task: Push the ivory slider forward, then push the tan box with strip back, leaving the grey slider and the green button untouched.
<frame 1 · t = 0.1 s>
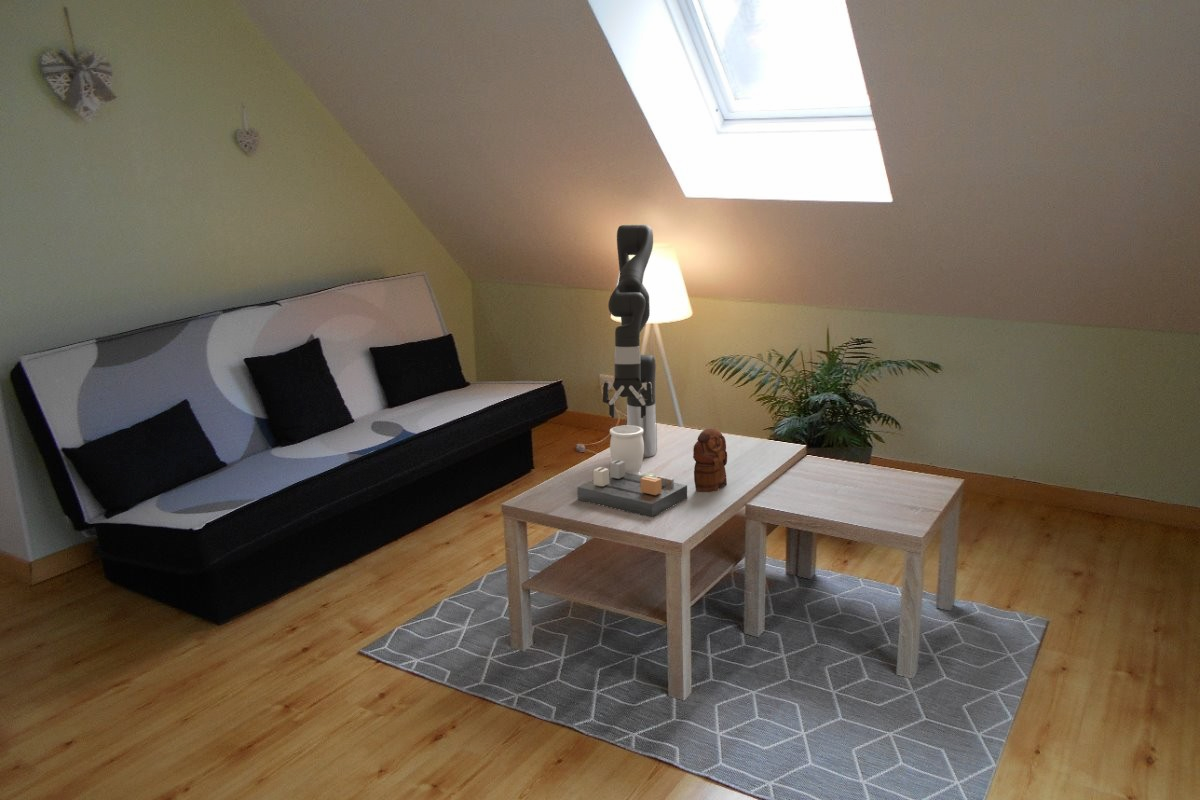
hand: (627, 417, 291), 22 cm above the table, tool pointing down, fingers open, 8 cm apart
jar: (627, 476, 310), on the table
panel: (632, 499, 290), on the table
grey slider: (617, 469, 296), point 7 cm above the table, slide at 0.0 cm
ivory slider: (601, 476, 290), point 7 cm above the table, slide at 0.0 cm
green button: (648, 478, 291), point 5 cm above the table, slide at 0.0 cm
tan box with strip: (651, 485, 282), point 6 cm above the table, slide at 0.0 cm
wooden figurine: (711, 487, 298), on the table
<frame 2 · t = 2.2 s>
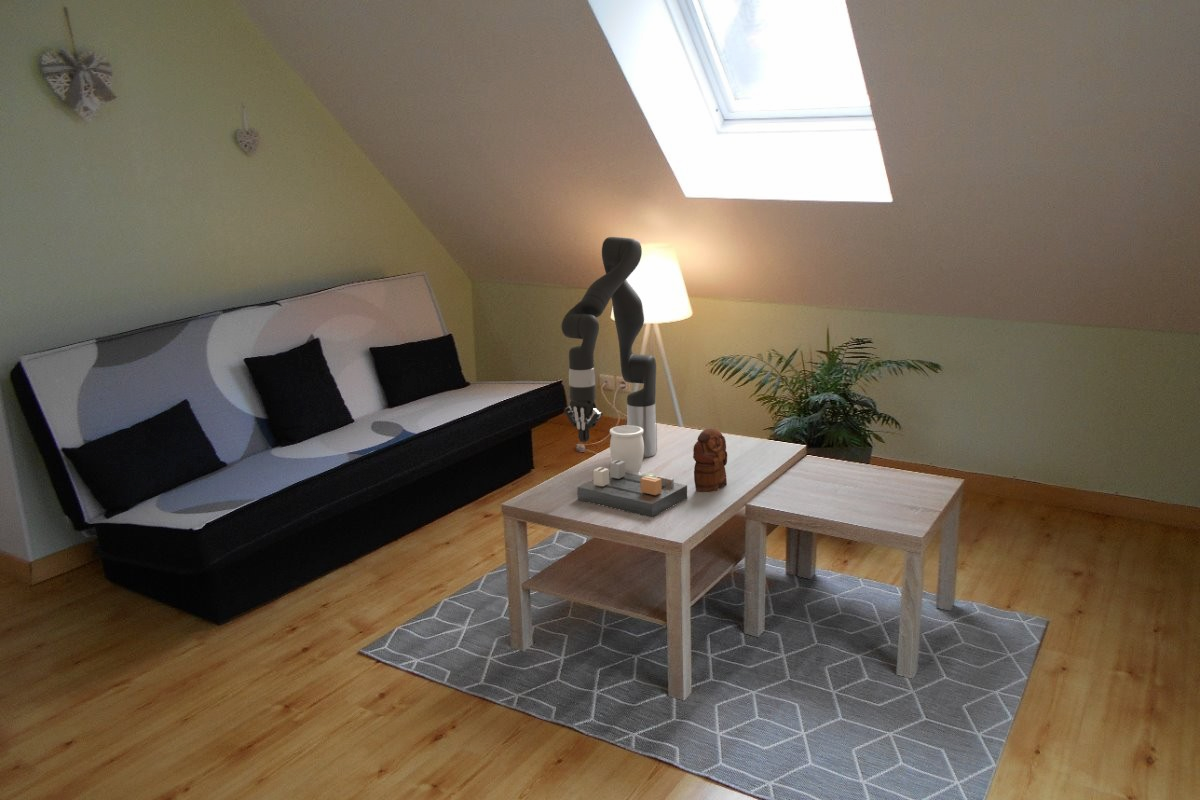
hand: (583, 441, 291), 16 cm above the table, tool pointing down, fingers closed
nothing on the table moved.
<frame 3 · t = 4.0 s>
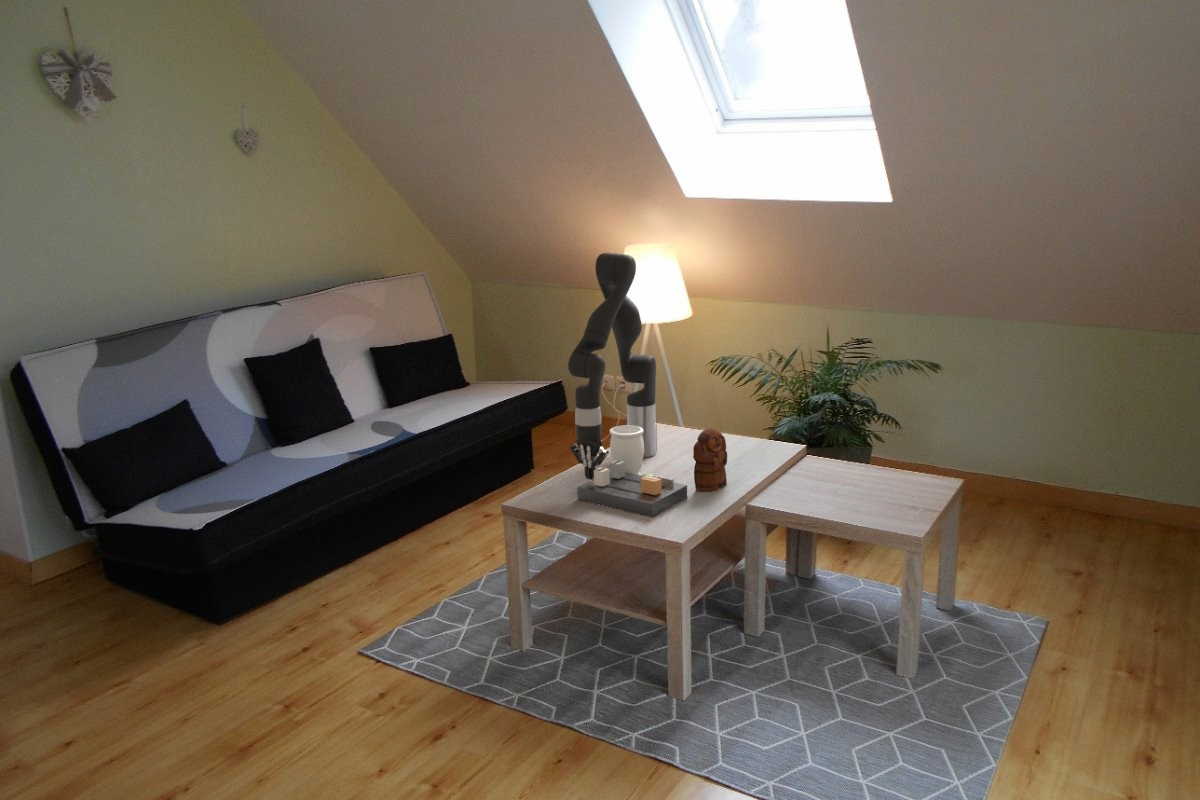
hand: (590, 478, 293), 5 cm above the table, tool pointing down, fingers closed
ivory slider: (601, 476, 290), point 7 cm above the table, slide at 0.2 cm, touching gripper
everything else where it was.
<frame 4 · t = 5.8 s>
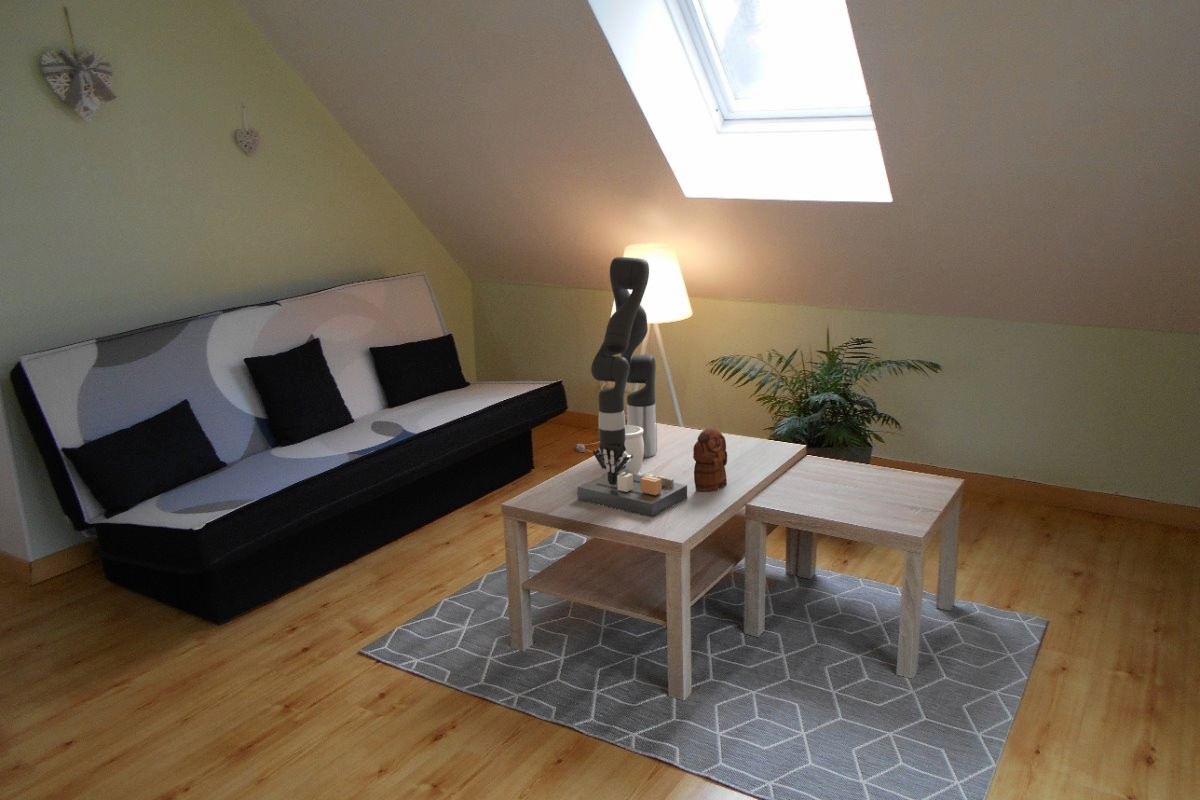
hand: (613, 483, 288), 5 cm above the table, tool pointing down, fingers closed
ivory slider: (625, 481, 285), point 7 cm above the table, slide at 8.5 cm, touching gripper
everything else where it was.
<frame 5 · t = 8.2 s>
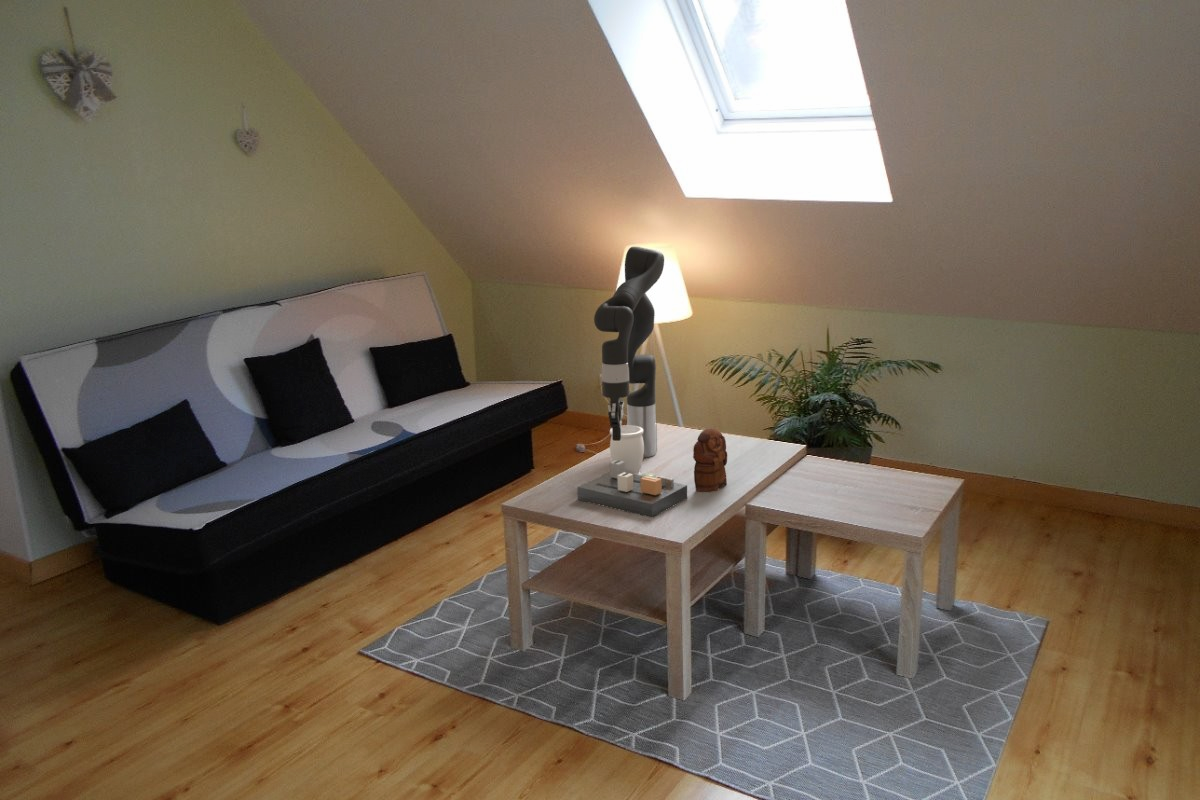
hand: (616, 439, 278), 20 cm above the table, tool pointing down, fingers closed
ivory slider: (625, 481, 285), point 7 cm above the table, slide at 8.6 cm
everything else where it was.
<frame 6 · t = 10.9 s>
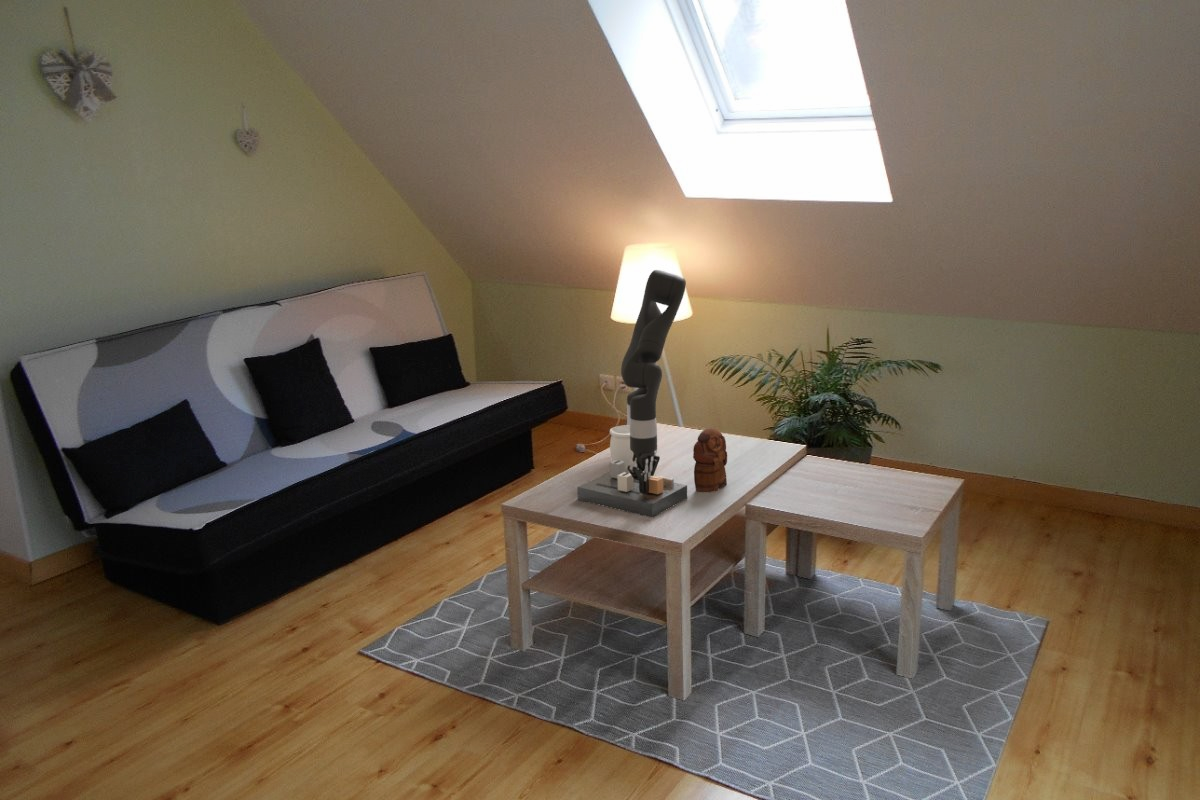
hand: (644, 492, 281), 5 cm above the table, tool pointing down, fingers closed
tan box with strip: (653, 484, 283), point 6 cm above the table, slide at 1.0 cm, touching gripper
everything else where it was.
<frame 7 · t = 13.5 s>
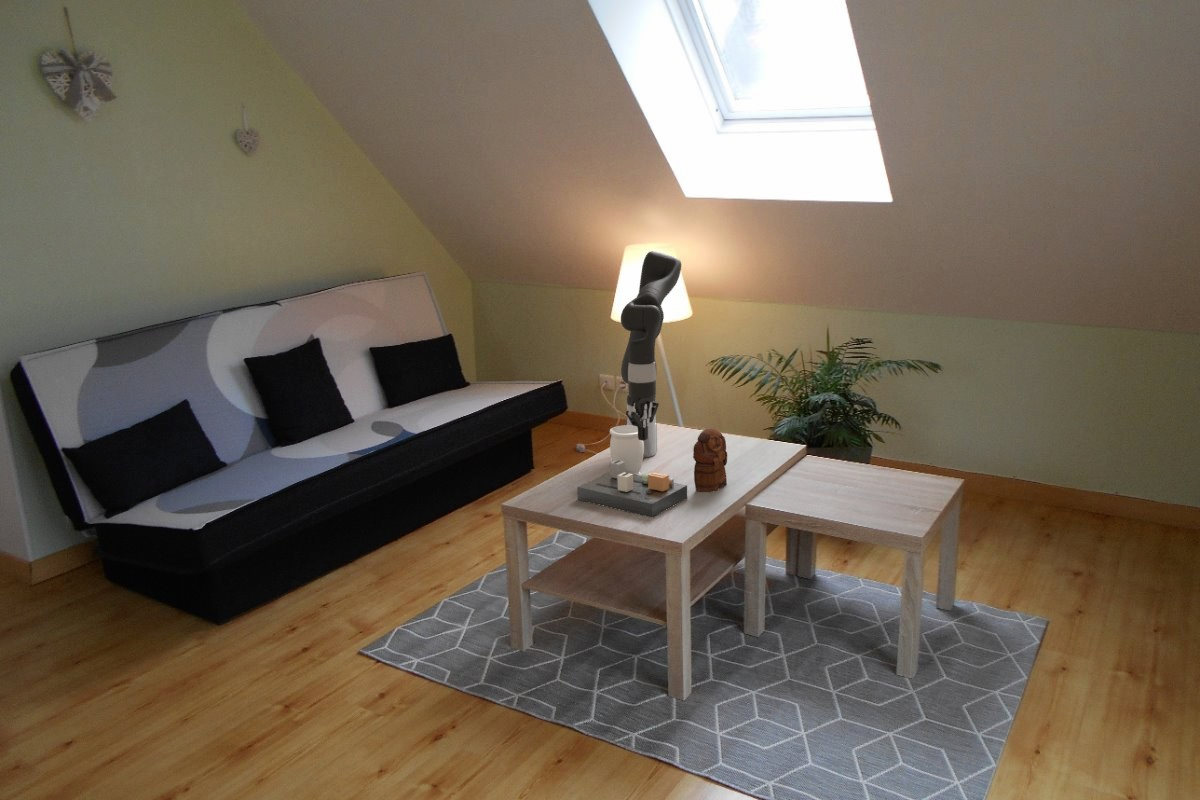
hand: (643, 439, 276), 21 cm above the table, tool pointing down, fingers closed
tan box with strip: (658, 481, 285), point 6 cm above the table, slide at 3.7 cm
everything else where it was.
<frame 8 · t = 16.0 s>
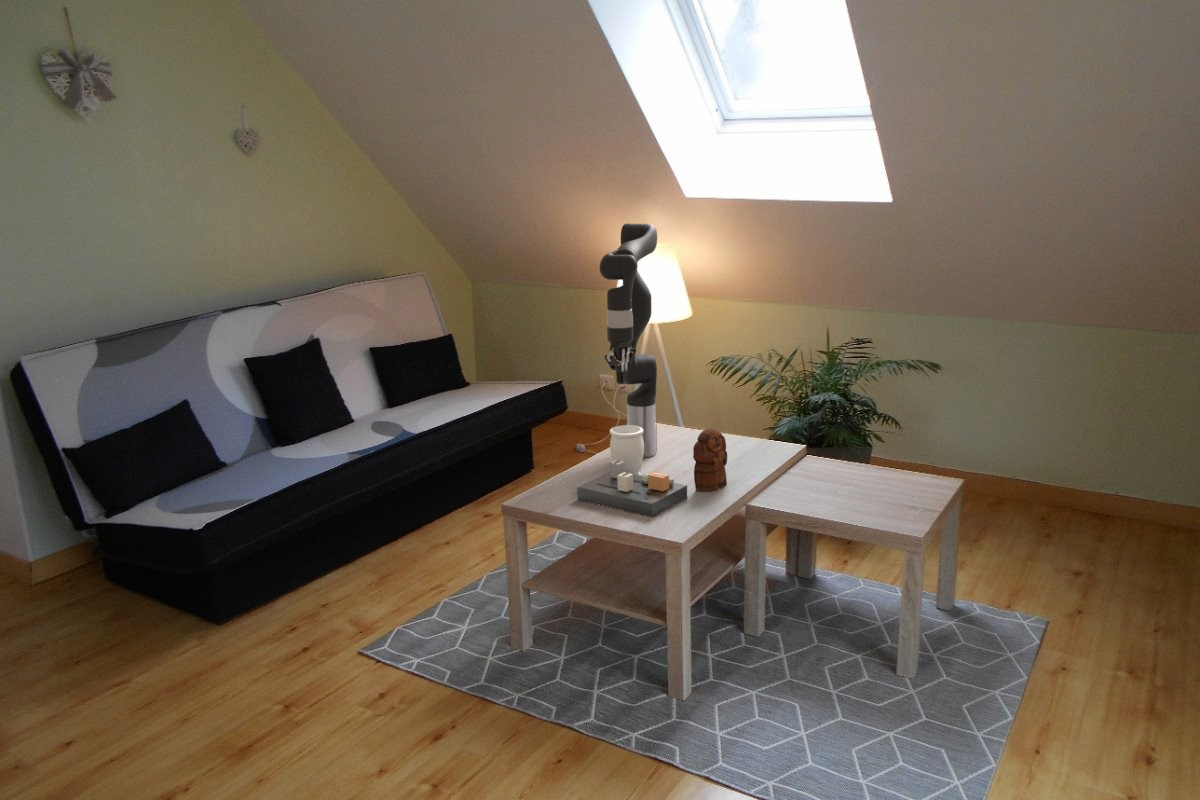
hand: (621, 383, 292), 32 cm above the table, tool pointing down, fingers closed
nothing on the table moved.
at the end: ivory slider slide at 8.6 cm; tan box with strip slide at 3.7 cm; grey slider slide at 0.0 cm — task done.
